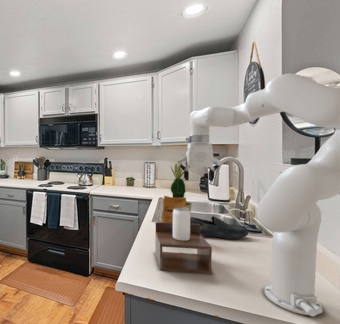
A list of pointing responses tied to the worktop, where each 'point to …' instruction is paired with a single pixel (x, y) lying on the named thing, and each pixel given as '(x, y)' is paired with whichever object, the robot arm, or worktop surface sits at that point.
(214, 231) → the loafer
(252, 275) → the worktop surface
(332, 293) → the worktop surface
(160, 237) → the shelf
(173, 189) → the potted cactus
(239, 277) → the worktop surface
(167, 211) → the coffee package
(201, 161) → the robot arm
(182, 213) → the can
